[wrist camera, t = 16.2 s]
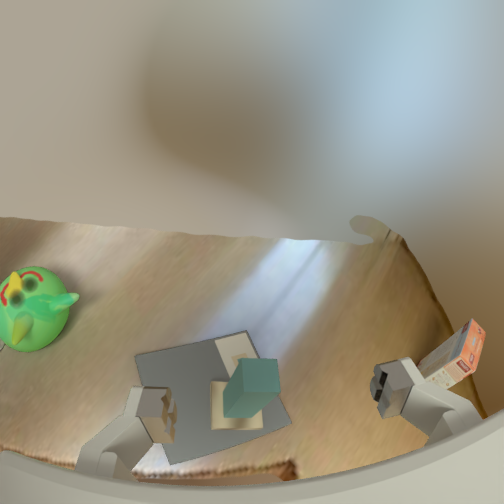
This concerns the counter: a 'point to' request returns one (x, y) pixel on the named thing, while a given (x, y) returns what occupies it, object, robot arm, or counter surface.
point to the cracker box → (454, 357)
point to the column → (251, 387)
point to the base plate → (206, 395)
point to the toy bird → (33, 308)
